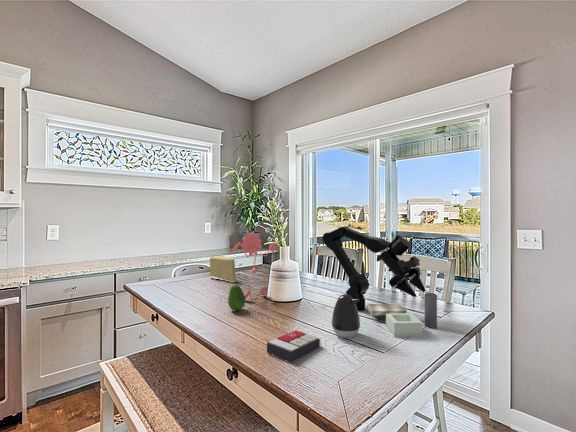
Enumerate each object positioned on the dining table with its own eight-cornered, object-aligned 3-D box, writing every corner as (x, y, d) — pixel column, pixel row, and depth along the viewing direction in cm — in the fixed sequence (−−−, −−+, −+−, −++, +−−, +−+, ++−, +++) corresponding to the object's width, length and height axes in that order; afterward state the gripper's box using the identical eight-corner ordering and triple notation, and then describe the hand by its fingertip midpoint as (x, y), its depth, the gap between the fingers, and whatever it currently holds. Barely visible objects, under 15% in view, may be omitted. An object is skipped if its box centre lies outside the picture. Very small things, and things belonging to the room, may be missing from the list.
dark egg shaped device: (354, 343, 110) (354, 300, 110) (327, 337, 116) (326, 296, 115) (364, 333, 119) (364, 292, 119) (338, 328, 125) (337, 289, 124)
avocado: (224, 311, 148) (224, 285, 147) (238, 306, 153) (237, 281, 153) (235, 314, 142) (234, 288, 142) (249, 310, 148) (248, 284, 148)
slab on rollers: (372, 321, 131) (372, 311, 131) (366, 313, 140) (366, 304, 140) (406, 320, 131) (406, 310, 131) (399, 313, 140) (399, 303, 140)
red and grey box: (320, 336, 109) (291, 350, 98) (320, 349, 109) (291, 364, 98) (295, 328, 116) (266, 340, 105) (295, 340, 116) (266, 353, 105)
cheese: (241, 281, 204) (240, 258, 203) (227, 284, 197) (227, 260, 197) (222, 276, 220) (221, 254, 220) (209, 279, 213) (209, 256, 213)
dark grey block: (427, 328, 122) (427, 296, 122) (422, 324, 127) (422, 293, 126) (439, 328, 122) (438, 296, 122) (433, 324, 127) (433, 292, 126)
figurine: (281, 295, 170) (278, 230, 169) (238, 306, 154) (235, 233, 153) (265, 290, 182) (262, 229, 181) (223, 300, 166) (221, 232, 165)
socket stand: (394, 336, 115) (394, 323, 115) (386, 326, 125) (385, 313, 125) (422, 336, 115) (422, 322, 115) (411, 325, 125) (411, 313, 125)
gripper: (396, 253, 123) (425, 286, 116) (416, 247, 137) (443, 277, 129) (377, 271, 129) (404, 303, 122) (398, 264, 142) (424, 293, 135)
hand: (420, 293), depth 127 cm, fingers open, 9 cm apart
